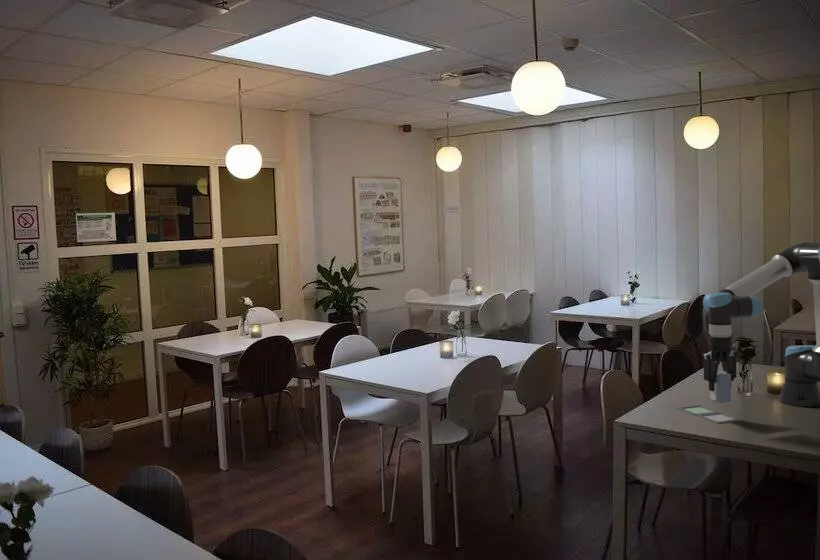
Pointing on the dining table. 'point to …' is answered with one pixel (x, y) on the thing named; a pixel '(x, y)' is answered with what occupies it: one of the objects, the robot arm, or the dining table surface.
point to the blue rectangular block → (723, 387)
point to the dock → (709, 414)
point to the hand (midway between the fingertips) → (720, 398)
